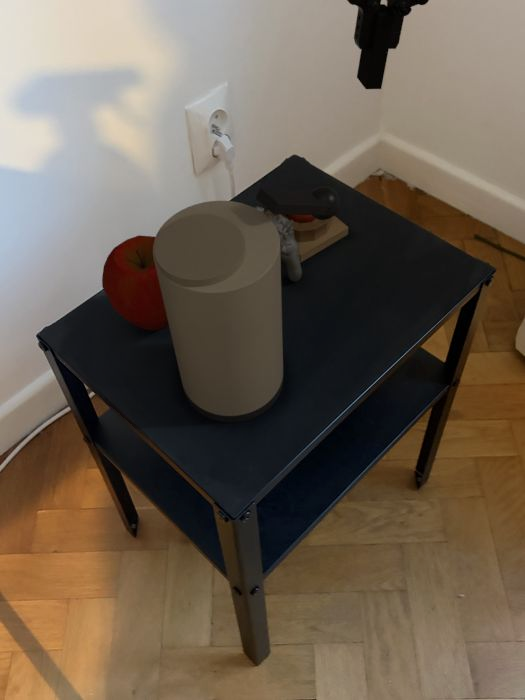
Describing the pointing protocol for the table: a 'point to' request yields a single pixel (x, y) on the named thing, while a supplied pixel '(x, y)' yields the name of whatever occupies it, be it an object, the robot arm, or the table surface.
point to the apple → (135, 283)
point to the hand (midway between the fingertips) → (368, 82)
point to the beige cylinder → (223, 306)
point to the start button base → (315, 234)
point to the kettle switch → (300, 201)
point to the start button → (301, 218)
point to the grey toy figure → (287, 245)
